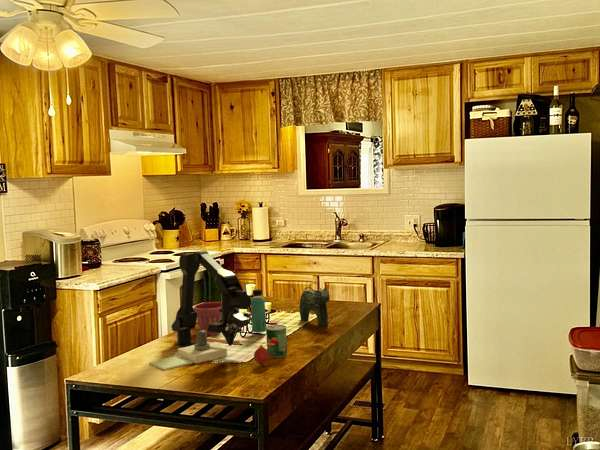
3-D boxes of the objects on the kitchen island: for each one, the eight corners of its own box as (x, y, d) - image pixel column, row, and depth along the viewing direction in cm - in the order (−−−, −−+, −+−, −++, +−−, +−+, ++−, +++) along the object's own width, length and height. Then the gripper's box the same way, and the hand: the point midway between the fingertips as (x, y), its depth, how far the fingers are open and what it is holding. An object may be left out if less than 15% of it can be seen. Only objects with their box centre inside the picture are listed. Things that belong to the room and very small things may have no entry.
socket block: (178, 356, 261) (177, 344, 260) (208, 349, 269) (208, 338, 269) (195, 363, 250) (195, 351, 249) (227, 355, 258) (226, 344, 258)
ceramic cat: (332, 325, 302) (330, 282, 300) (320, 328, 298) (319, 284, 297) (307, 318, 318) (305, 277, 317) (296, 320, 315) (294, 279, 313)
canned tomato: (290, 352, 260) (289, 325, 259) (283, 358, 253) (282, 330, 252) (271, 351, 263) (270, 324, 262) (264, 356, 255) (262, 329, 254)
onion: (254, 364, 246) (253, 343, 245) (269, 363, 246) (268, 342, 246) (254, 368, 240) (253, 347, 240) (270, 367, 241) (269, 346, 240)
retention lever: (197, 340, 265) (197, 337, 265) (200, 338, 267) (200, 336, 267) (237, 345, 255) (237, 342, 255) (240, 343, 257) (240, 340, 257)
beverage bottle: (264, 336, 287) (262, 291, 286) (250, 335, 289) (248, 291, 287) (268, 332, 294) (266, 288, 292) (254, 332, 295) (252, 288, 293)
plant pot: (206, 338, 287) (204, 309, 286) (189, 333, 297) (187, 305, 296) (233, 332, 296) (231, 304, 295) (215, 327, 307) (214, 300, 305)
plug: (192, 356, 260) (190, 331, 259) (205, 353, 264) (204, 328, 263) (199, 359, 255) (198, 334, 254) (213, 356, 259) (211, 331, 258)
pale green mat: (149, 363, 252) (149, 362, 252) (177, 357, 259) (177, 355, 259) (163, 370, 242) (163, 368, 242) (192, 363, 250) (192, 361, 250)
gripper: (227, 312, 243) (229, 353, 244) (259, 303, 258) (261, 342, 259) (206, 309, 249) (207, 350, 251) (238, 301, 264) (240, 339, 266)
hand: (230, 345), depth 256 cm, fingers closed
